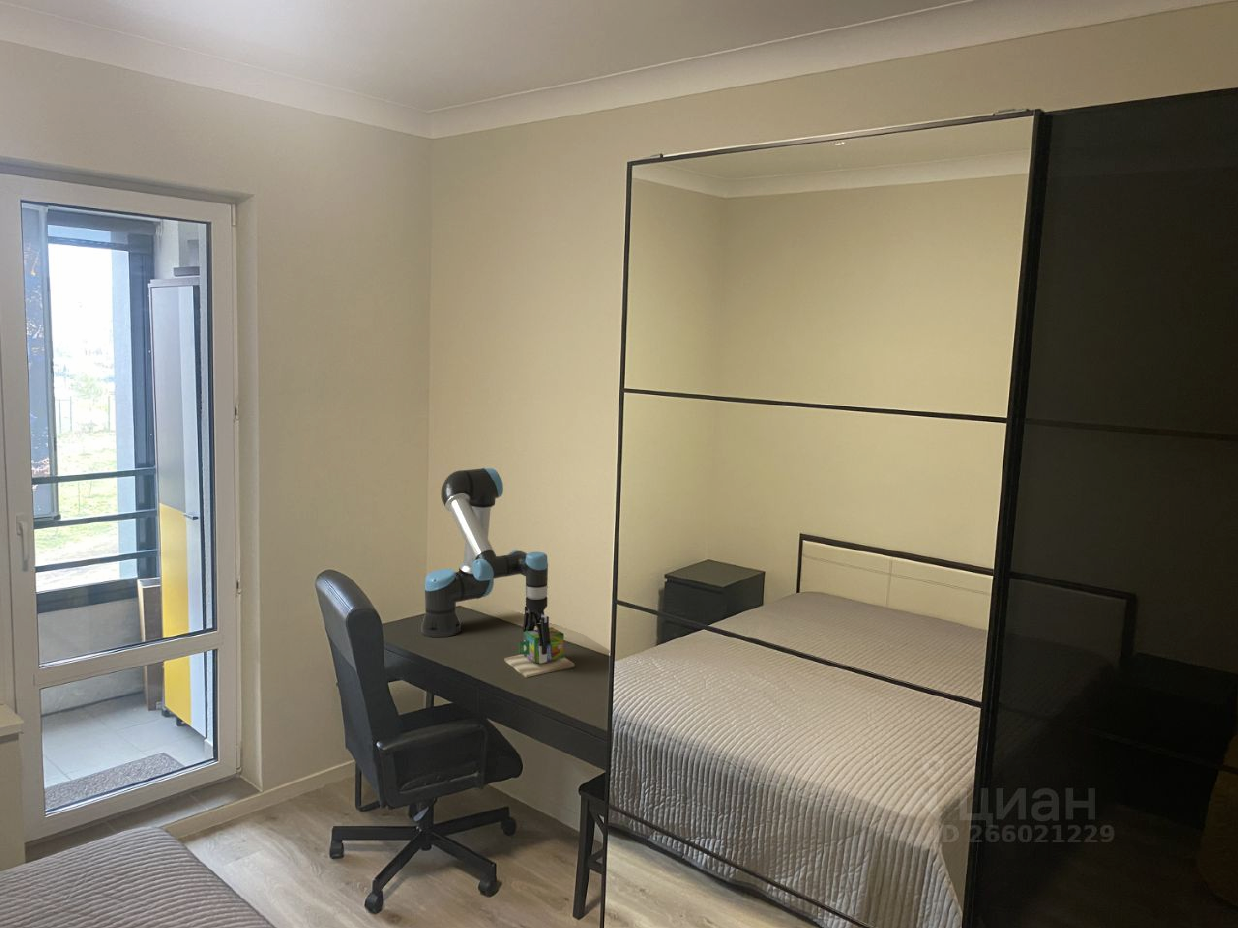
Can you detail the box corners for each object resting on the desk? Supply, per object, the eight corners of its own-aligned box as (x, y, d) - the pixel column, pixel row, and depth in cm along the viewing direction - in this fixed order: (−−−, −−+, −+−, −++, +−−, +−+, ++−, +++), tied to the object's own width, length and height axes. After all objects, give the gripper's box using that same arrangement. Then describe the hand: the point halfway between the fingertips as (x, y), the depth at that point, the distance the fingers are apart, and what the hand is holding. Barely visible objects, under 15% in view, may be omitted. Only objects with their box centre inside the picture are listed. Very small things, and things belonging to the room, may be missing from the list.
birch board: (504, 660, 312) (504, 658, 312) (551, 650, 323) (551, 648, 322) (525, 677, 298) (525, 674, 298) (574, 666, 309) (574, 663, 308)
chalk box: (564, 657, 310) (526, 666, 302) (552, 650, 318) (515, 658, 310) (564, 632, 309) (526, 640, 301) (551, 625, 317) (514, 633, 309)
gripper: (561, 603, 299) (560, 665, 303) (531, 586, 317) (531, 645, 321) (541, 606, 295) (541, 670, 299) (513, 589, 313) (513, 649, 317)
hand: (536, 657), depth 310 cm, fingers closed on chalk box, 9 cm apart
